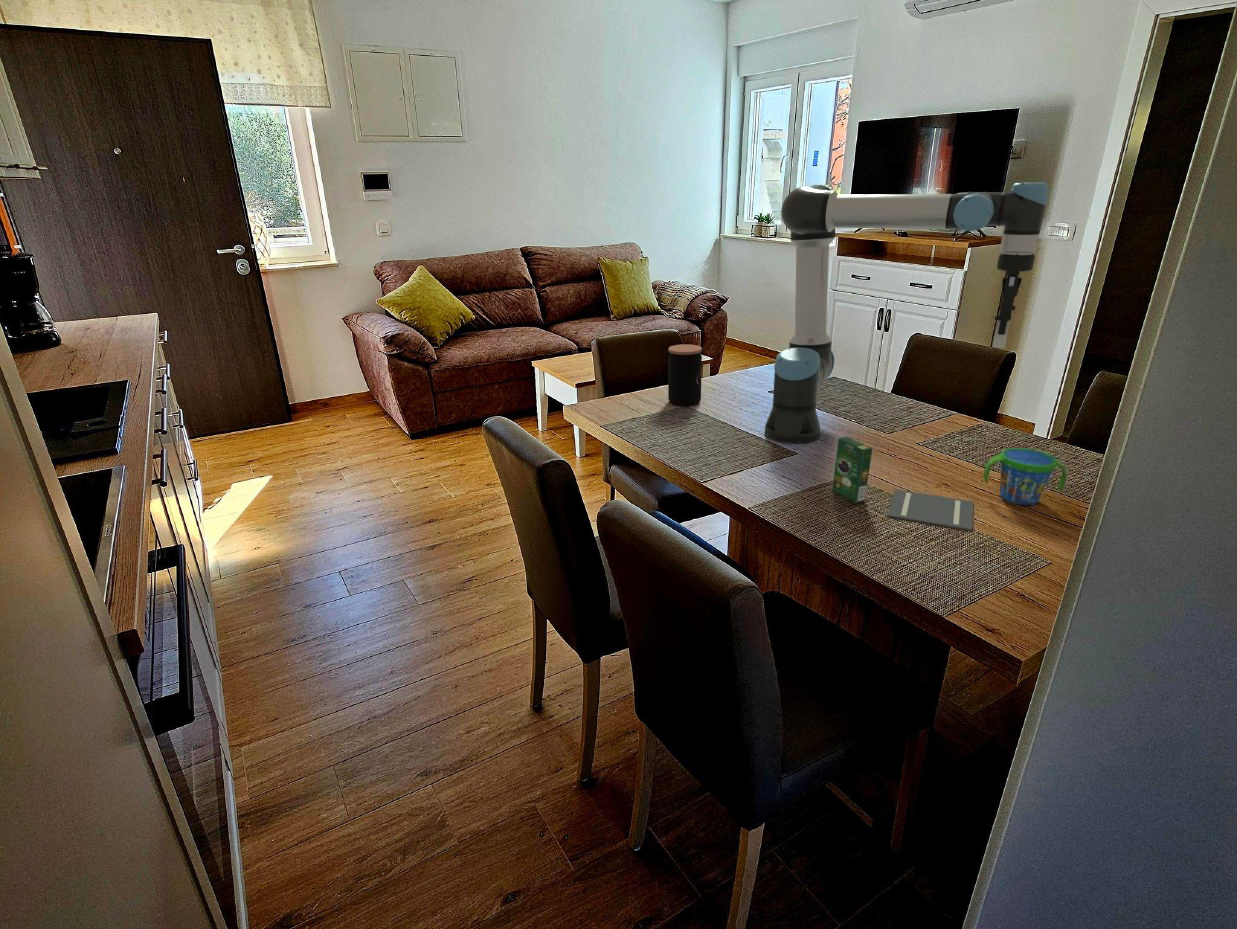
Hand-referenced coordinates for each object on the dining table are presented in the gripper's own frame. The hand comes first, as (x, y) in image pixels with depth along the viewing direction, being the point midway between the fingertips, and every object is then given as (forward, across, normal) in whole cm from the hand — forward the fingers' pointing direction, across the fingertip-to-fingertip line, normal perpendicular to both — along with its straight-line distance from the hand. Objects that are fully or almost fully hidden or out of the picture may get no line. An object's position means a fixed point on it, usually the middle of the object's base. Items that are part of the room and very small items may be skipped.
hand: (999, 341), depth 167 cm
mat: (+28, -46, +6) cm, 54 cm away
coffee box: (+28, -47, +24) cm, 60 cm away
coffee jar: (+28, +2, +86) cm, 91 cm away
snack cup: (+28, -32, -10) cm, 44 cm away
